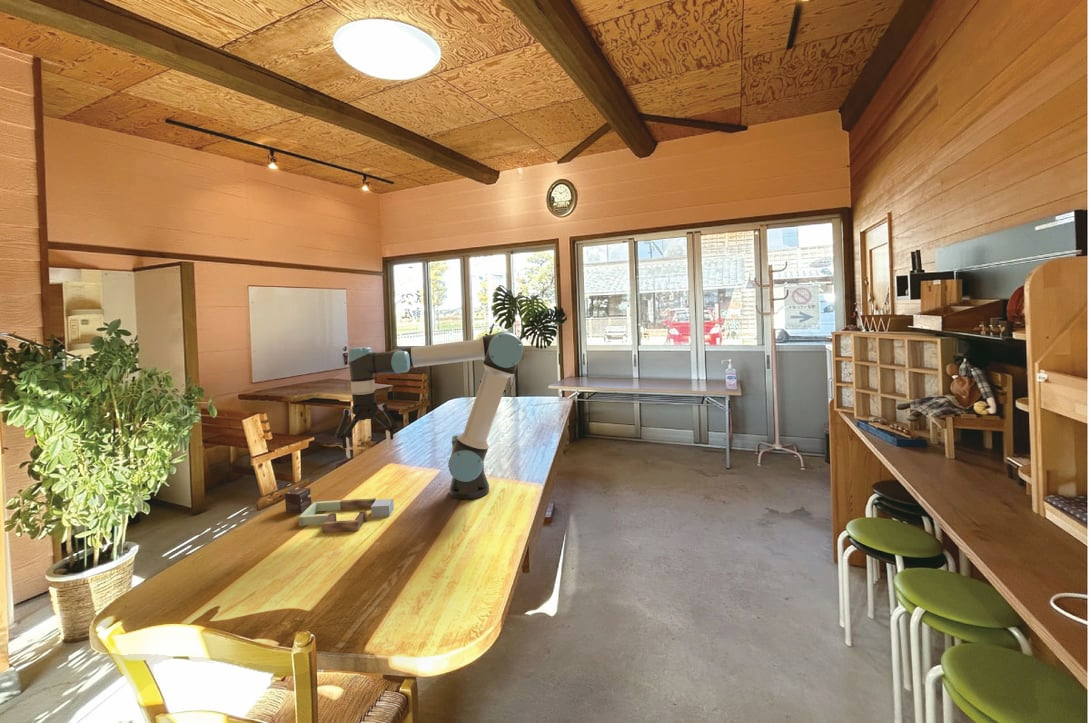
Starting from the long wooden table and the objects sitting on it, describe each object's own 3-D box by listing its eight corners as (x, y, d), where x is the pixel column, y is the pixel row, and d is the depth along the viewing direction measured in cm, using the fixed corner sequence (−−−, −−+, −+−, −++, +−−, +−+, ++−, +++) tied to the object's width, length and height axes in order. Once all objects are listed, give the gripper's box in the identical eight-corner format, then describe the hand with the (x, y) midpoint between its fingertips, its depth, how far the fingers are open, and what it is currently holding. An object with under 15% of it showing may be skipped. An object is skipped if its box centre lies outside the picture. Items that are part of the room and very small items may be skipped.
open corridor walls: (376, 506, 169) (375, 498, 169) (359, 530, 150) (359, 521, 149) (341, 508, 168) (341, 500, 168) (321, 533, 149) (320, 524, 148)
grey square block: (393, 509, 166) (393, 498, 166) (389, 516, 160) (388, 505, 160) (376, 510, 166) (376, 499, 165) (371, 517, 160) (370, 506, 159)
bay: (341, 508, 168) (341, 500, 168) (328, 524, 155) (328, 515, 155) (314, 509, 167) (313, 501, 167) (298, 526, 154) (298, 517, 154)
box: (300, 514, 164) (298, 494, 163) (285, 513, 165) (283, 493, 164) (312, 507, 170) (310, 488, 169) (297, 506, 171) (296, 487, 170)
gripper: (397, 386, 169) (402, 443, 171) (322, 396, 155) (328, 458, 158) (403, 388, 163) (408, 448, 165) (325, 399, 149) (332, 463, 151)
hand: (369, 453), depth 161 cm, fingers open, 13 cm apart
